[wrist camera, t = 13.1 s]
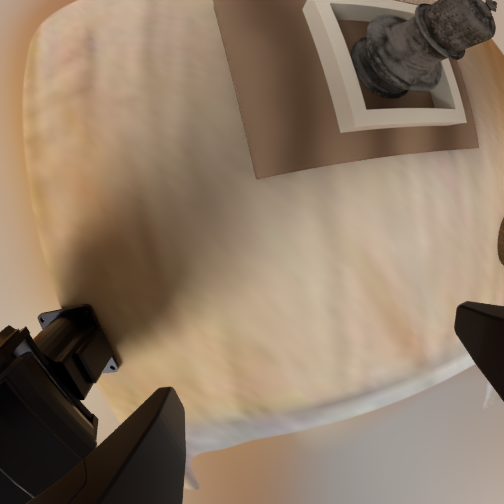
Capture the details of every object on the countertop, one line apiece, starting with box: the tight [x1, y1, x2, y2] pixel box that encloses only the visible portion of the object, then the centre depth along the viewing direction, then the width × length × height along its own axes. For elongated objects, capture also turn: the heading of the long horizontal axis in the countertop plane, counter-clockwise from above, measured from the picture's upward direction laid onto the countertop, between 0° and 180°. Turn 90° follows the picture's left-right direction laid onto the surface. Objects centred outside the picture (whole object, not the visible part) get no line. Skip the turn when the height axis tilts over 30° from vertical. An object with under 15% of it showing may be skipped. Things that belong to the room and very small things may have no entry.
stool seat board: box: [213, 0, 479, 179], centre depth 15 cm, size 20×14×4 cm
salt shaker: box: [350, 0, 497, 99], centre depth 10 cm, size 6×6×12 cm
